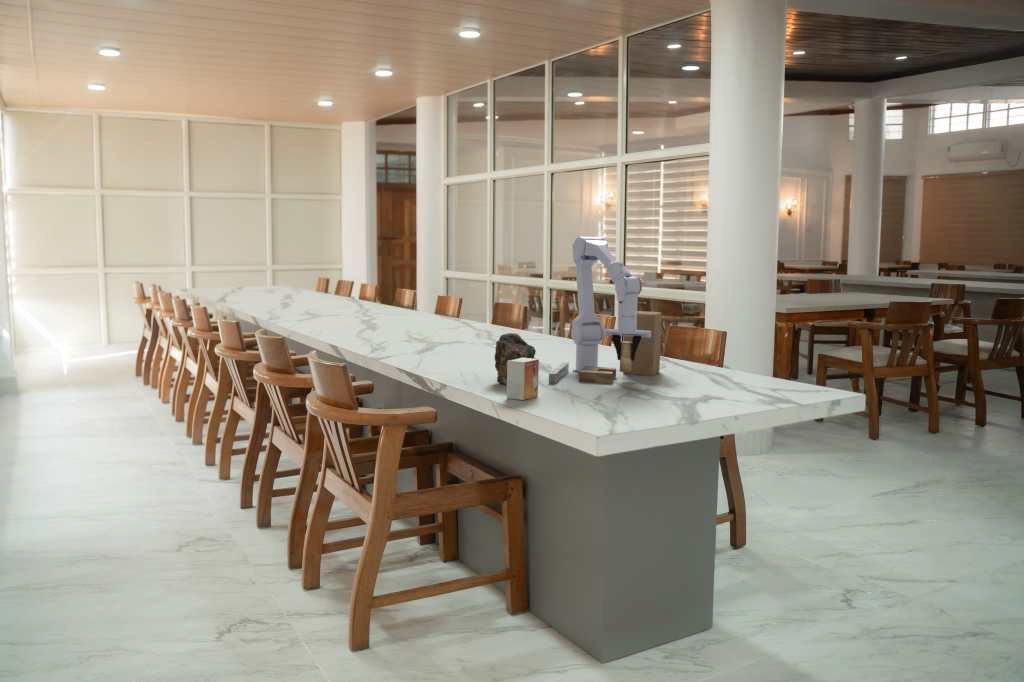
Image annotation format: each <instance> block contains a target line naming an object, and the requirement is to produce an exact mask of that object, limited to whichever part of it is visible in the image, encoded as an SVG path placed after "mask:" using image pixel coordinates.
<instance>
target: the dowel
mask: <svg viewBox="0 0 1024 682" xmlns="http://www.w3.org/2000/svg"><path fill="white" fill-rule="evenodd" d="M631 359H632V342H624V341H621V348H620V360H619V372H620V373H623V372H632V361H631Z"/></svg>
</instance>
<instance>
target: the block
mask: <svg viewBox="0 0 1024 682" xmlns="http://www.w3.org/2000/svg"><path fill="white" fill-rule="evenodd" d="M616 378H617V367H610V366H609V367H604V366H597V367H590V366H585V367H584V368H583V369H582V370H581V371H578V382H579V383H581V382H582V383H598V384H613V382H614V380H615V379H616Z"/></svg>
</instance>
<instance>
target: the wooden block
mask: <svg viewBox="0 0 1024 682" xmlns="http://www.w3.org/2000/svg"><path fill="white" fill-rule="evenodd" d="M662 314H663V313H662V312H660V311H645V310H637V327H636V330H644V331H651V337H650V338H647V337H642V339H641V341H640V343H639V345H638V347H637V350H636V353H635V358H634V361H632V372H622V374H623V375H632V376H633V375H634V376H647V377H653V376H655V375H657V374H659V373H660V367H661V366H660V365H661V346H662V345H661V344H662V343H661V341H662V340H661V338H662V337H661V336H662V318H663V317H662V316H663V315H662ZM623 335H633V334H623ZM632 338H633V337H628V336H623V342H632Z"/></svg>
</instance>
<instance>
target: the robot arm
mask: <svg viewBox="0 0 1024 682" xmlns="http://www.w3.org/2000/svg"><path fill="white" fill-rule="evenodd" d="M572 258H573V263H575V275H576V276H575V277H576V288H577V290H576V291H577V293H576V294H577V303H578V305H577V306H578V315H577V316H576V317H575V318H574V319H572V321H571V323H572V324H571V331H570V336H571V339H572V341H573V342H574V344H576V347H575V367H574V368H573V369H572V372H580V371H581V370H582V369H583V368H584V367H585V366H590V367H599V366H598V363H599V362H598V361H599V359H598V358H599V345H600V344H601V342H602V341H603V339H604V337H606V336H609V337H610V336H611V341H612V343H613V346H614V348H615V352H616V357H617V360H618V361H620V348H621V342H622V337H624V336H628V337H633V338H632V359H631V361H634V358H635V353H636V350H637V347H638V345H639V343H640V341H641V339H642V337H647V338H650V337H651V331H644V330H636V327H637V311H638V296H639V295H640V294H641V292H642V290H643V283H642V280H641V279H640V277H639V276H637V275H634V274H631V272H630V271H629V270H628V268H627V267H626V266H625V265H624V262H622V261H619V260H618V261H617V260H616V259H615V257H614V256H613V254H612V253H611V251H610V250H609V243H608V241H607V240H606V238H605V237H604V236H580V235H579V236H577V237H576V238H575V239H574V242H573V244H572ZM598 261H599V262H601V264H603V265H604V266H605V268H606V270H605V271H606V274H607V276H608V277H609V278H610V280H611V281H612V283H613V284H614V290H615V292H616V300H617V301H618V308H617V310H618V311H617V313H618V314H617V328H614V329H613V328H604V327H603V323H602V319H601V318H600V317H599V316H598V315H597V314H596V313H595V311H596V309H595V297H594V295H595V294H594V283H593V282H594V281H593V269H592V267H593V266H594V265H595V264H596V263H597V262H598ZM624 334H633V335H624Z"/></svg>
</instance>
